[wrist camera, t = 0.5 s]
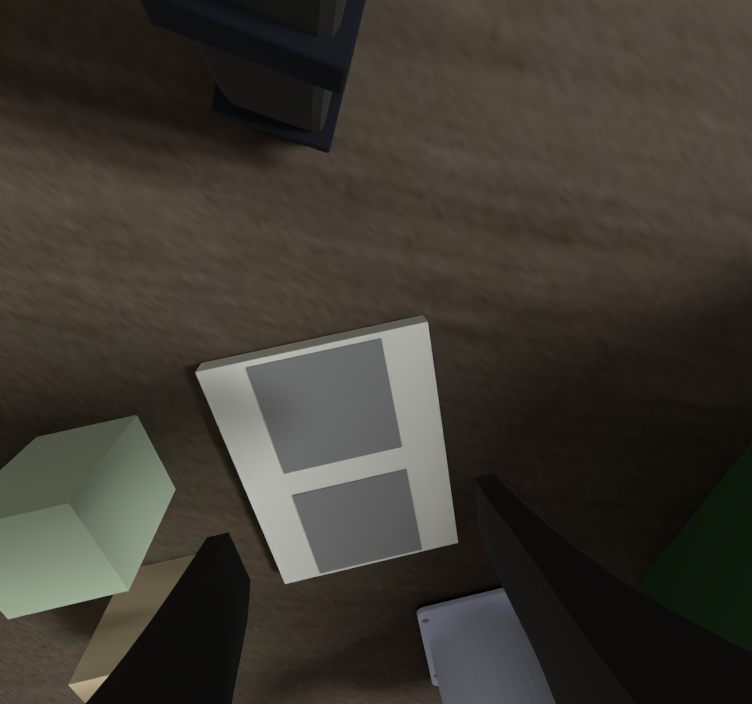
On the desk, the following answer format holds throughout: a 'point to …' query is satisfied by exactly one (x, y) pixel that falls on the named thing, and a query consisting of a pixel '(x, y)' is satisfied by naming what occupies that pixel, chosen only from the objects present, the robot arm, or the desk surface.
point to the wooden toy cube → (125, 623)
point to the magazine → (272, 59)
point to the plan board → (338, 446)
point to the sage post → (78, 515)
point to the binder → (713, 561)
